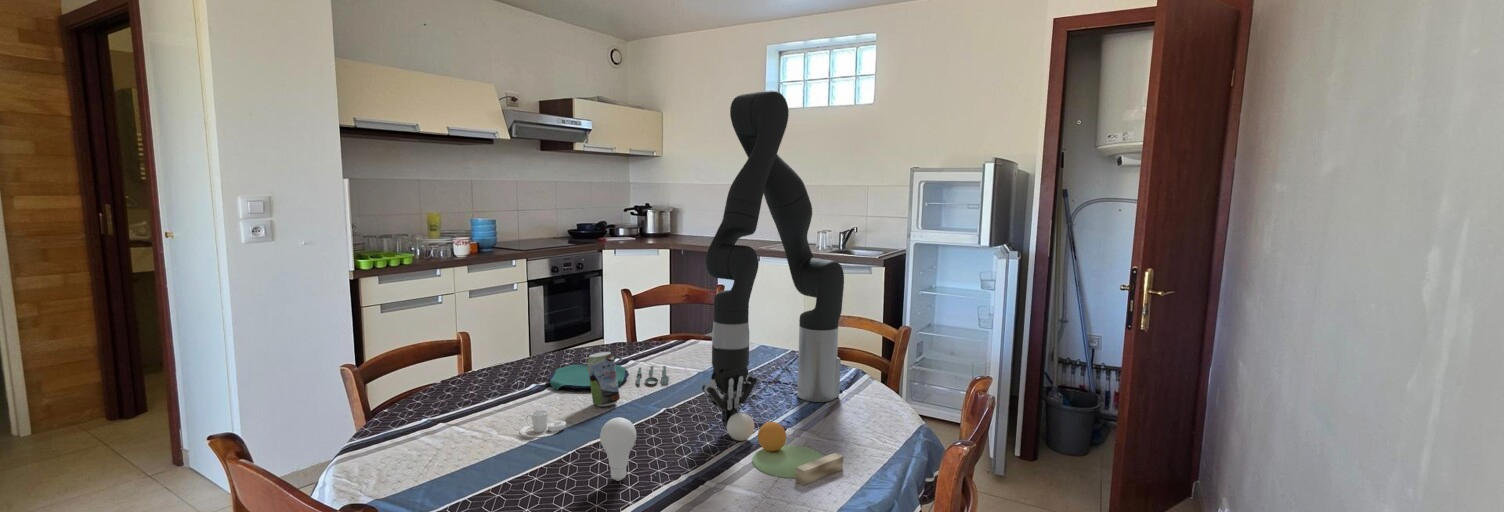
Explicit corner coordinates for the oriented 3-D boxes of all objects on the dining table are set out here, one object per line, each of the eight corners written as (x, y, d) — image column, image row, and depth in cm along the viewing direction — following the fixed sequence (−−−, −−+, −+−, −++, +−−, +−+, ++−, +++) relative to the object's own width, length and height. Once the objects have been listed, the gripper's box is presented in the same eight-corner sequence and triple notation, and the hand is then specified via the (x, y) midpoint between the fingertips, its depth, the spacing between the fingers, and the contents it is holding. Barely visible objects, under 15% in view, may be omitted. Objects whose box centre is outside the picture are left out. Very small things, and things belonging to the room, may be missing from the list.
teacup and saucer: (571, 428, 141) (571, 409, 141) (548, 442, 134) (547, 422, 133) (536, 422, 144) (535, 404, 144) (511, 436, 137) (510, 416, 136)
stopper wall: (834, 465, 125) (834, 452, 124) (842, 469, 123) (843, 456, 123) (795, 481, 118) (795, 467, 118) (803, 485, 117) (804, 471, 116)
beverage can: (613, 410, 151) (613, 357, 150) (582, 407, 153) (582, 355, 151) (624, 401, 157) (624, 350, 156) (594, 398, 159) (594, 348, 157)
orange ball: (778, 415, 134) (796, 437, 131) (760, 435, 135) (777, 456, 132) (765, 415, 129) (784, 437, 127) (747, 436, 130) (765, 458, 128)
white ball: (752, 406, 138) (764, 430, 135) (737, 421, 140) (748, 445, 137) (733, 407, 134) (744, 432, 131) (717, 422, 137) (728, 447, 134)
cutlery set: (554, 371, 181) (554, 363, 181) (668, 369, 186) (668, 361, 185) (542, 395, 162) (542, 386, 162) (669, 392, 166) (669, 383, 166)
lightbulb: (602, 472, 120) (602, 412, 119) (637, 472, 120) (637, 412, 119) (598, 488, 114) (597, 425, 113) (634, 487, 114) (634, 424, 113)
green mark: (803, 441, 136) (803, 440, 136) (842, 469, 123) (842, 468, 123) (739, 453, 129) (739, 452, 129) (774, 483, 117) (774, 482, 117)
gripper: (744, 334, 144) (742, 413, 146) (693, 343, 136) (692, 427, 138) (767, 342, 139) (765, 423, 141) (715, 351, 130) (714, 438, 132)
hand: (729, 425), depth 139 cm, fingers closed
